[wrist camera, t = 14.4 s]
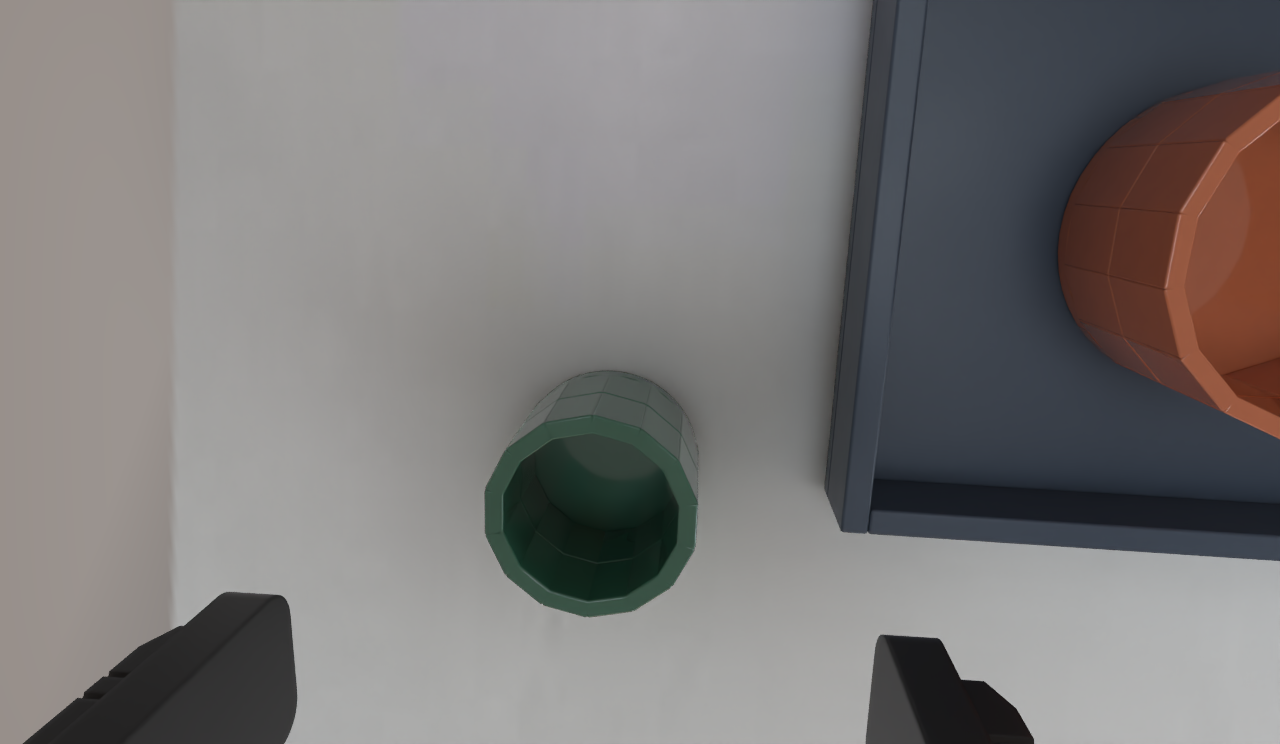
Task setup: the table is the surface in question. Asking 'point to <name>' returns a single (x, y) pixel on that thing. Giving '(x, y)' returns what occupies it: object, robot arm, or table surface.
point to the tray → (1024, 288)
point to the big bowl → (1186, 247)
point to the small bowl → (596, 496)
